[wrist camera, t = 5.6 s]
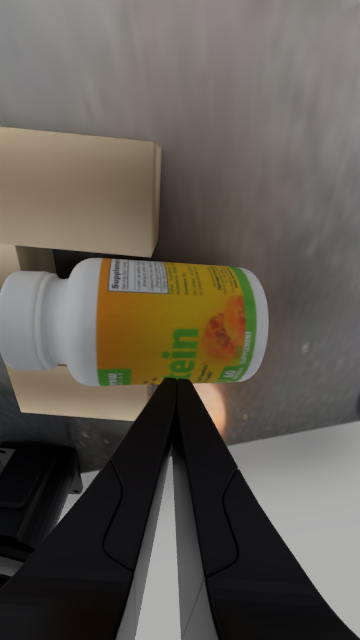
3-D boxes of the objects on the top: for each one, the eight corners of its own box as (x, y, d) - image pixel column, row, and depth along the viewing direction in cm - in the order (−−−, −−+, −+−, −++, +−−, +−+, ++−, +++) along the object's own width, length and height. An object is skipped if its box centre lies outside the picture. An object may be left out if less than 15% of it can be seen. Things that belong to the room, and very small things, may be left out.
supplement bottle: (243, 405, 12) (12, 418, 10) (215, 328, 16) (46, 326, 14) (291, 315, 9) (-42, 308, 7) (240, 247, 13) (23, 230, 11)
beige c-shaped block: (152, 386, 18) (146, 422, 16) (45, 377, 18) (21, 412, 15) (161, 148, 11) (154, 141, 9) (-14, 131, 11) (-76, 119, 8)
